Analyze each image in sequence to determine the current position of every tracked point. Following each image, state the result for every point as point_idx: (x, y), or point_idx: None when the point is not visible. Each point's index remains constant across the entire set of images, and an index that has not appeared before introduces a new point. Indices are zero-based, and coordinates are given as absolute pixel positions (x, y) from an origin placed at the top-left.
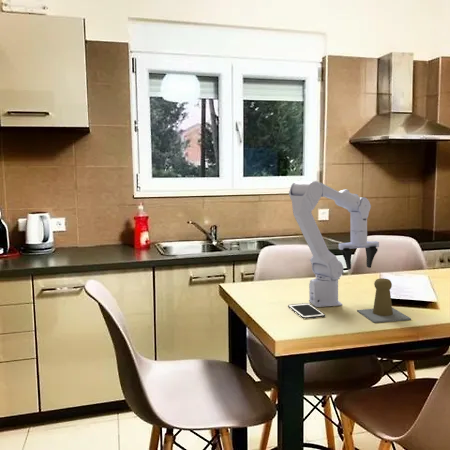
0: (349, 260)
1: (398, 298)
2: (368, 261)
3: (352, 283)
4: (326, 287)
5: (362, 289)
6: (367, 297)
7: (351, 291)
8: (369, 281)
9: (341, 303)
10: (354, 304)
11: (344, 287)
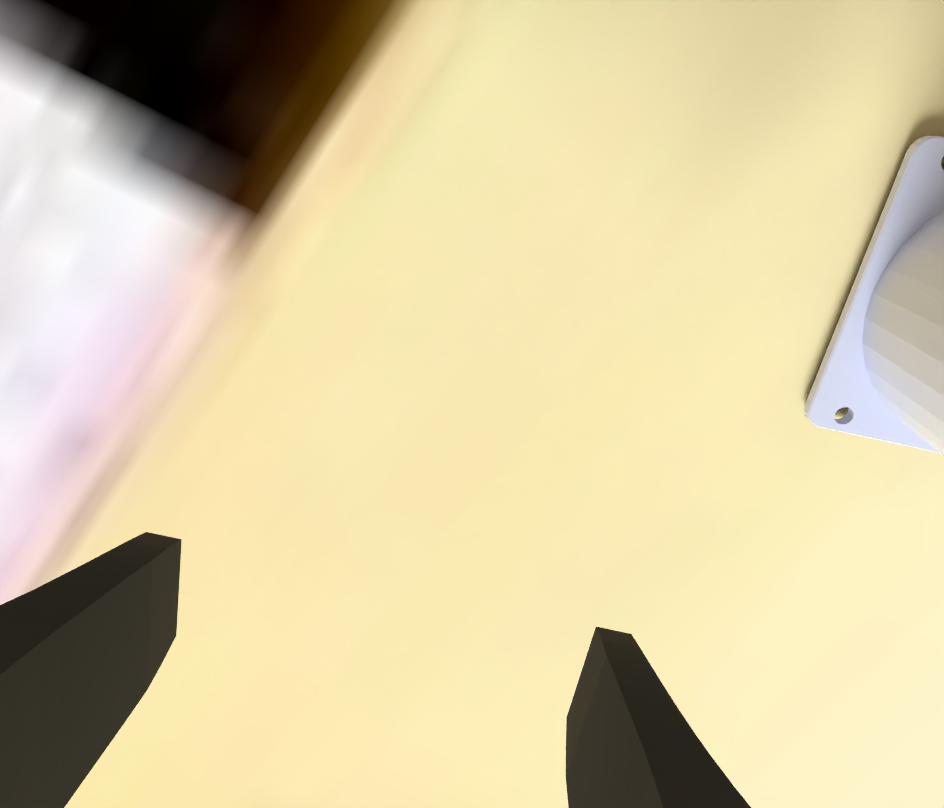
0: (694, 775)
1: (59, 105)
2: (103, 668)
3: (230, 792)
4: None
5: (255, 595)
6: (387, 317)
7: (407, 587)
8: None
9: (917, 165)
10: (731, 122)
11: (384, 725)
